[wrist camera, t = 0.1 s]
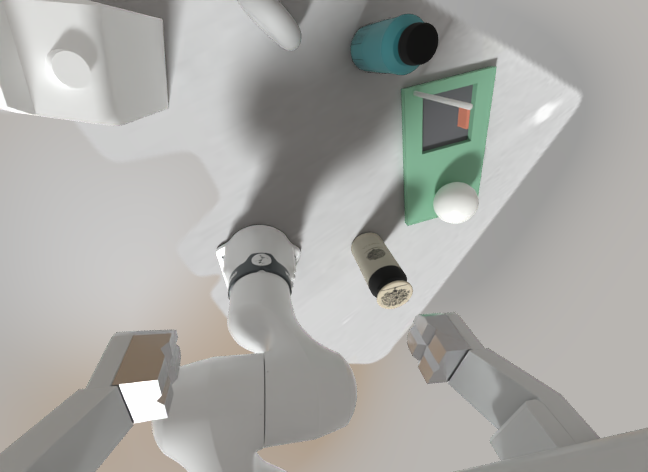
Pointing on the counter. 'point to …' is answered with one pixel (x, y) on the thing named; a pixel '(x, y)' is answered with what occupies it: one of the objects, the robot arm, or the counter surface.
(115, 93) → the milk
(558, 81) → the counter surface
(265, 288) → the robot arm
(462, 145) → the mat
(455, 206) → the ball
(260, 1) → the donut
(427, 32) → the beverage bottle
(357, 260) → the travel mug
